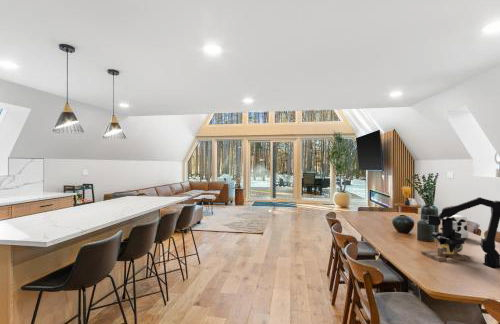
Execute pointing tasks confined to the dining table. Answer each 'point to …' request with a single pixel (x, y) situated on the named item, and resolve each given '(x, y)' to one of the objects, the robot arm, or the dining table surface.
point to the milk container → (460, 225)
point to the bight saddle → (447, 248)
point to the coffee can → (456, 245)
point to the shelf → (443, 254)
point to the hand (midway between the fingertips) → (447, 251)
